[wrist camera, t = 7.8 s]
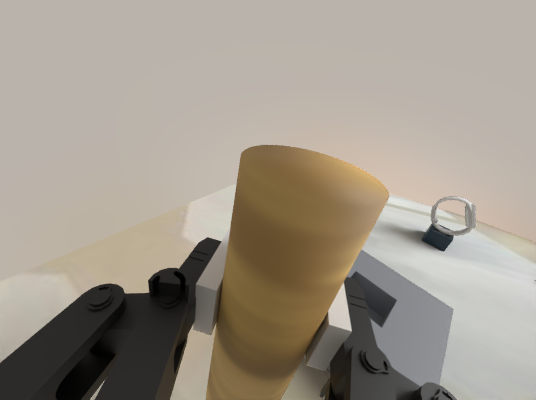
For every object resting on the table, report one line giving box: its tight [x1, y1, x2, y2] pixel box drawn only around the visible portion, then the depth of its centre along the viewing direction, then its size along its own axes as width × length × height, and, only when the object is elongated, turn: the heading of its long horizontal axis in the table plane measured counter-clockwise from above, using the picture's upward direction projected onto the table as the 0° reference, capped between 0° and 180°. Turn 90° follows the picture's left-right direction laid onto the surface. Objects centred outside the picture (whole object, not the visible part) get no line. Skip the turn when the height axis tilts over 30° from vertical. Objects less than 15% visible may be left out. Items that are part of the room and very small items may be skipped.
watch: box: [422, 196, 476, 251], centre depth 46 cm, size 6×8×11 cm
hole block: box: [327, 250, 453, 386], centre depth 26 cm, size 16×16×4 cm
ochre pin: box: [206, 145, 389, 400], centre depth 9 cm, size 4×4×14 cm
